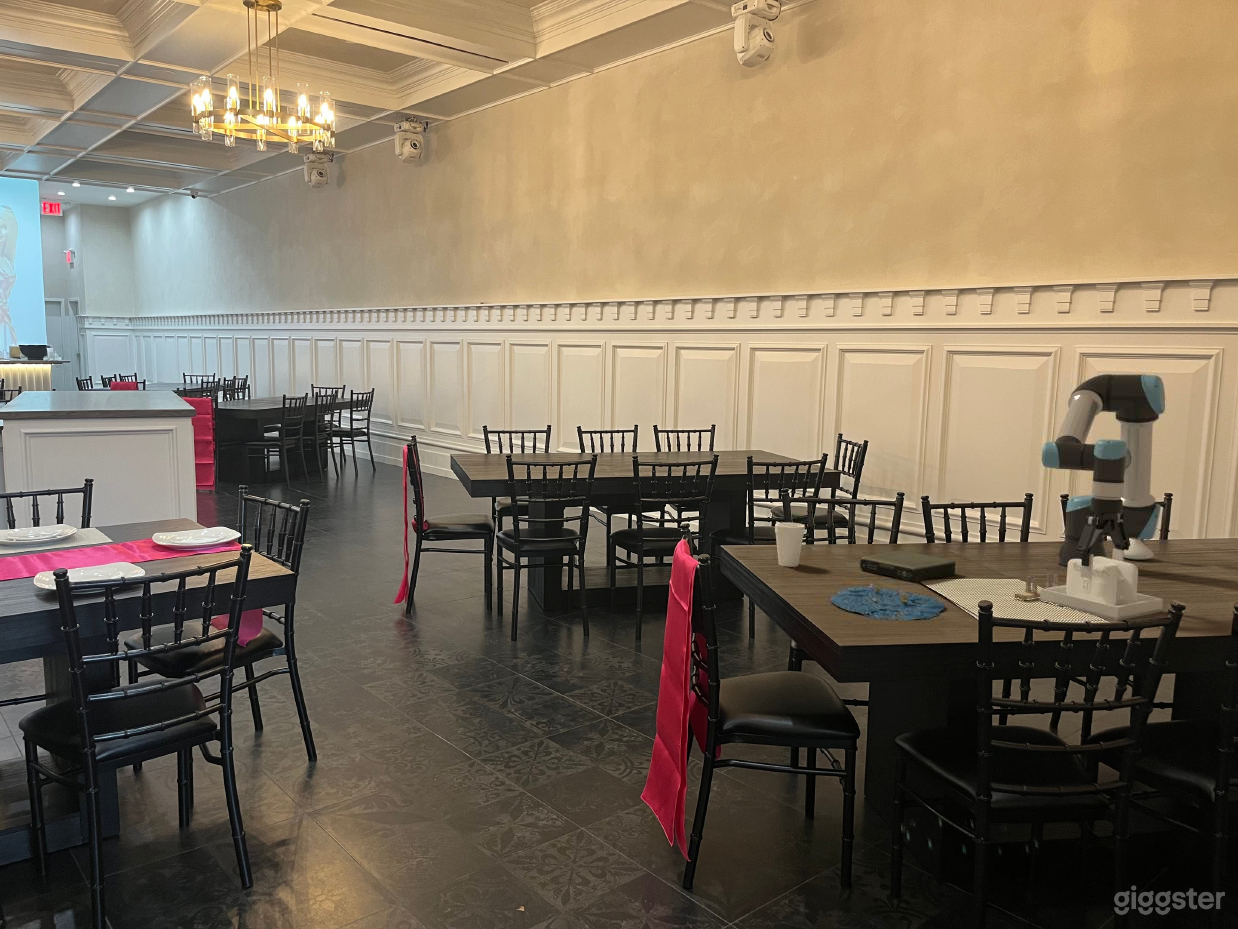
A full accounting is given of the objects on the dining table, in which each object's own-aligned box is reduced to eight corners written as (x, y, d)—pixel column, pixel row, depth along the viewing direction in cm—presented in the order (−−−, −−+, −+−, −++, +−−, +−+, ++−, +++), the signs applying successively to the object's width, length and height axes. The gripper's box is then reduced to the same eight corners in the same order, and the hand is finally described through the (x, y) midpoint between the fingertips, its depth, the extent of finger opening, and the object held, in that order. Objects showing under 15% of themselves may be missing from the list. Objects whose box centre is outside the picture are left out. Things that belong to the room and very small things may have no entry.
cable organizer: (1139, 609, 241) (1142, 565, 240) (1108, 612, 237) (1111, 568, 236) (1092, 595, 255) (1095, 554, 254) (1063, 598, 251) (1065, 556, 250)
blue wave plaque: (970, 624, 233) (972, 604, 233) (862, 627, 227) (864, 607, 226) (910, 592, 262) (911, 574, 261) (813, 594, 256) (814, 576, 255)
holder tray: (1084, 593, 261) (1085, 581, 260) (1161, 611, 242) (1162, 598, 241) (1039, 601, 251) (1040, 589, 250) (1116, 620, 232) (1117, 607, 231)
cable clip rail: (1076, 588, 267) (1078, 568, 266) (1086, 590, 264) (1087, 570, 264) (1014, 599, 253) (1015, 577, 252) (1023, 601, 250) (1025, 580, 250)
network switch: (959, 574, 285) (960, 559, 285) (924, 586, 269) (924, 569, 268) (891, 563, 302) (892, 548, 301) (854, 573, 286) (854, 557, 285)
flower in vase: (1145, 563, 305) (1150, 489, 302) (1109, 557, 314) (1114, 485, 311) (1161, 558, 313) (1166, 486, 310) (1126, 553, 322) (1131, 483, 319)
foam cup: (792, 560, 301) (793, 521, 300) (809, 566, 293) (810, 526, 292) (768, 562, 297) (769, 523, 296) (785, 568, 289) (786, 528, 288)
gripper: (1121, 493, 253) (1116, 568, 255) (1065, 498, 240) (1060, 577, 242) (1148, 496, 246) (1142, 573, 248) (1091, 502, 234) (1086, 583, 236)
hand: (1101, 575), depth 245 cm, fingers open, 13 cm apart
